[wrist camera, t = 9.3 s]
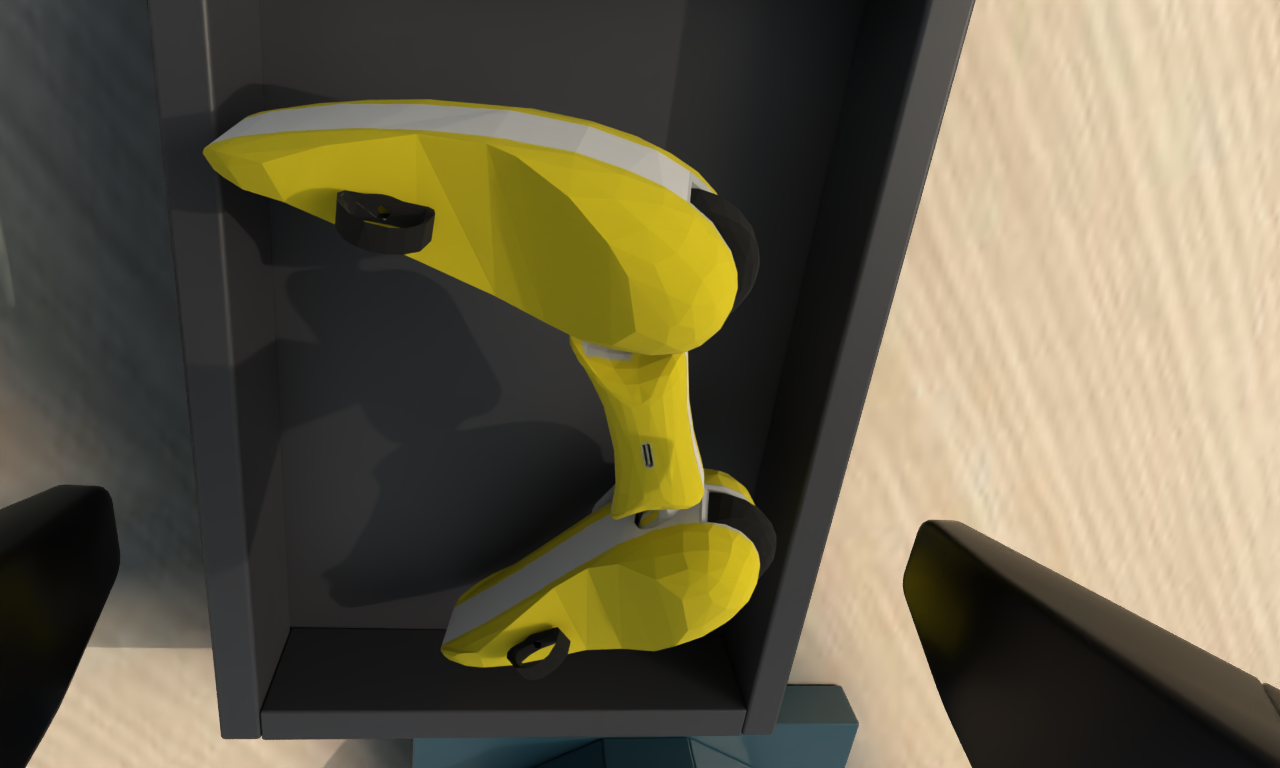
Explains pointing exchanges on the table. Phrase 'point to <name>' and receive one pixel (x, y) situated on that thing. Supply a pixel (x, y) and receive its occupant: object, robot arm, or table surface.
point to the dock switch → (672, 744)
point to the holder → (520, 346)
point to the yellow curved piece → (574, 303)
